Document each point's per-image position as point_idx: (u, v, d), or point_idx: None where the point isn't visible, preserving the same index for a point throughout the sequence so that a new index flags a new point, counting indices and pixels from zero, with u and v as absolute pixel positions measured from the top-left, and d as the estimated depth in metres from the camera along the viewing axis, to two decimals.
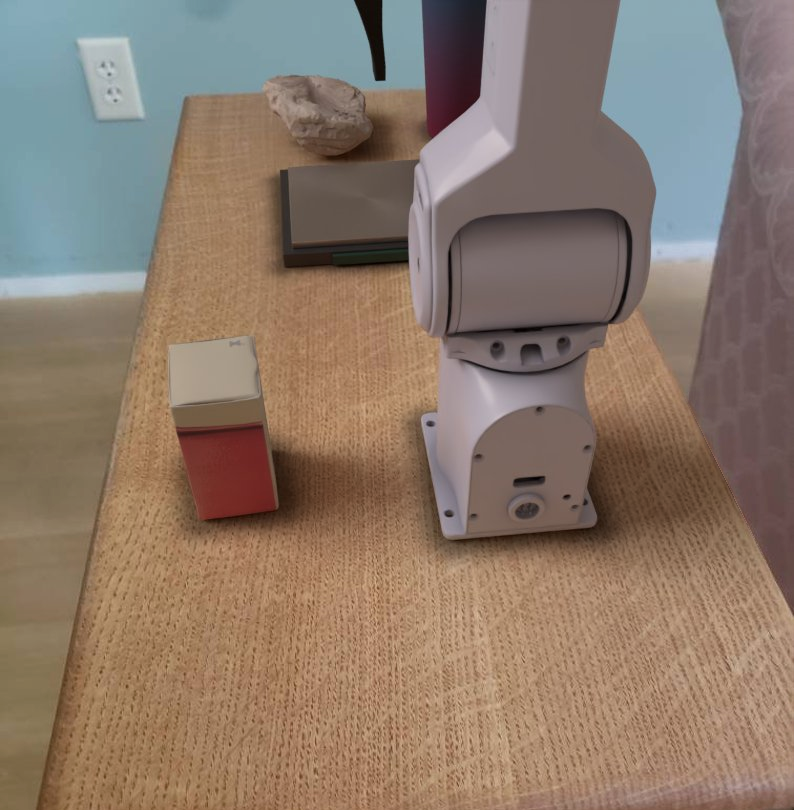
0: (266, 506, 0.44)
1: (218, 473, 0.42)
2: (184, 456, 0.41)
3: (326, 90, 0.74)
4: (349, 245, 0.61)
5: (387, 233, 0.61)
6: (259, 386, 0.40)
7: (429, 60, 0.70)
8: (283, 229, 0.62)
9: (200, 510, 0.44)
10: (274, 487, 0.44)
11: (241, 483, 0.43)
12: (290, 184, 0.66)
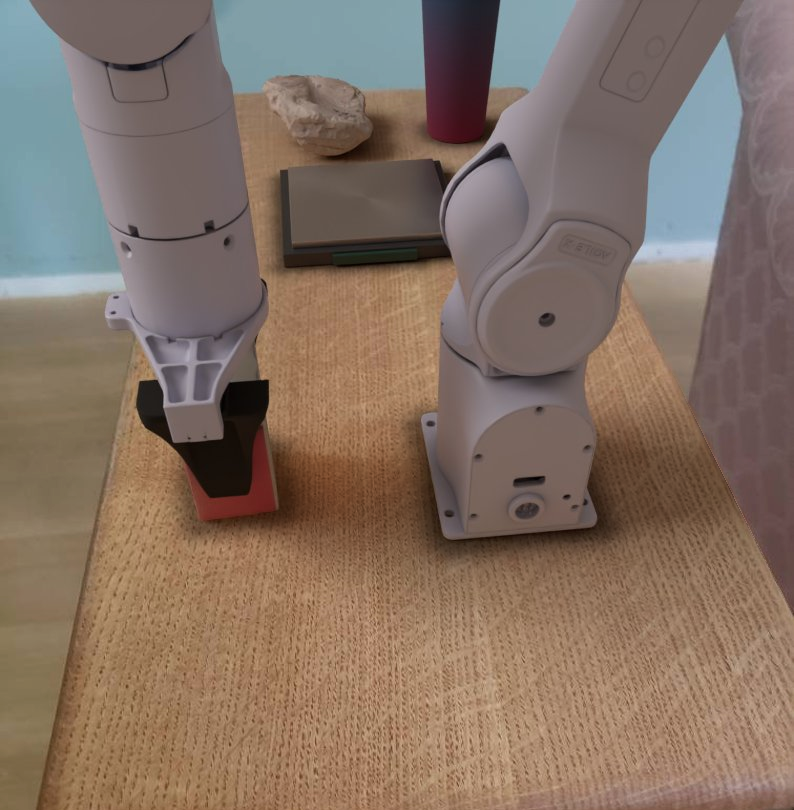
0: (266, 506, 0.44)
1: None
2: None
3: (326, 90, 0.74)
4: (349, 245, 0.61)
5: (387, 233, 0.61)
6: None
7: (429, 60, 0.70)
8: (283, 229, 0.62)
9: (200, 511, 0.44)
10: (274, 488, 0.44)
11: None
12: (290, 184, 0.66)
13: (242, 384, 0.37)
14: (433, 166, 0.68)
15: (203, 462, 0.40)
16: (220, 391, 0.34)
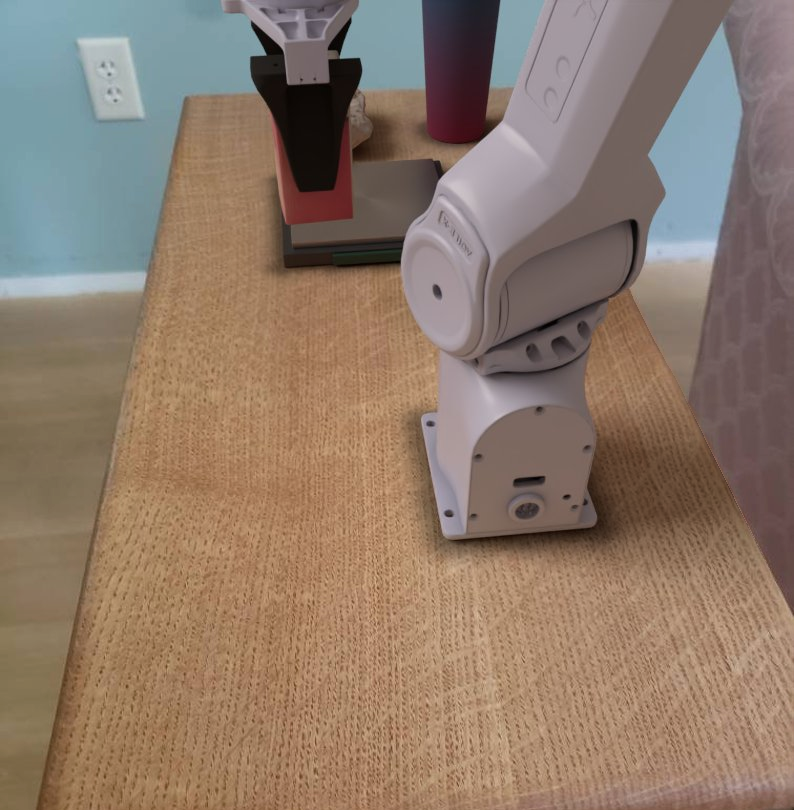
0: (344, 212, 0.51)
1: None
2: (279, 148, 0.47)
3: None
4: (349, 245, 0.61)
5: (387, 233, 0.61)
6: None
7: (429, 60, 0.70)
8: (283, 229, 0.62)
9: (287, 213, 0.50)
10: (352, 192, 0.50)
11: None
12: None
13: (338, 60, 0.44)
14: (433, 166, 0.68)
15: (298, 148, 0.47)
16: (328, 39, 0.40)
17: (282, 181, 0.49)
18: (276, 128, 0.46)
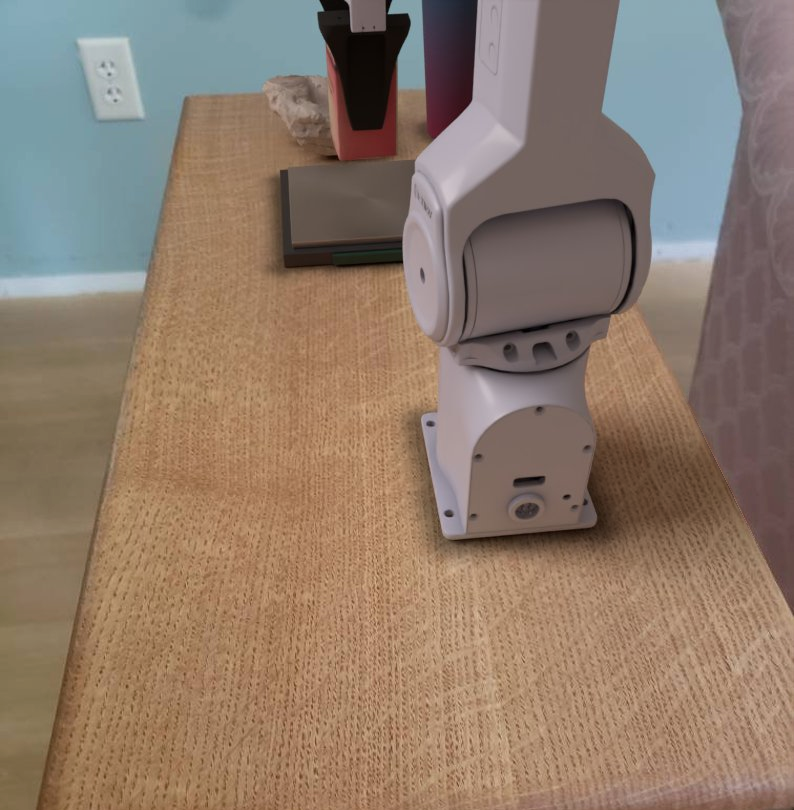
0: (389, 150, 0.59)
1: None
2: (337, 92, 0.56)
3: (326, 90, 0.74)
4: (349, 245, 0.61)
5: (387, 233, 0.61)
6: None
7: (429, 60, 0.70)
8: (283, 229, 0.62)
9: (341, 150, 0.59)
10: (397, 132, 0.59)
11: None
12: (290, 184, 0.66)
13: (390, 15, 0.52)
14: None
15: (354, 91, 0.55)
16: None
17: (338, 121, 0.57)
18: (335, 74, 0.55)
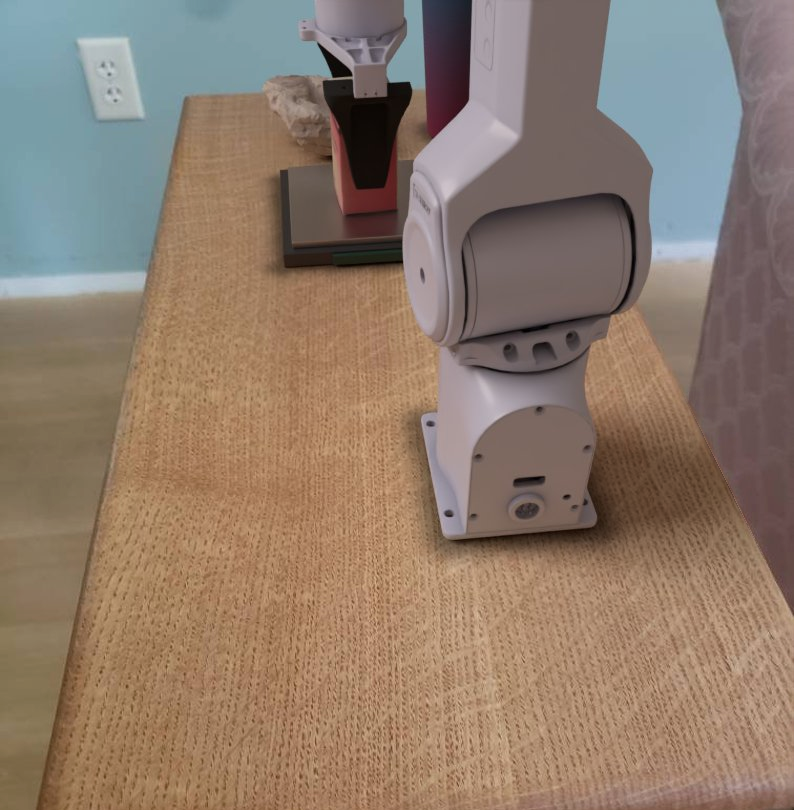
0: (390, 204, 0.62)
1: None
2: (340, 152, 0.59)
3: None
4: (349, 245, 0.61)
5: (387, 233, 0.61)
6: None
7: (429, 60, 0.70)
8: (283, 229, 0.62)
9: (344, 205, 0.62)
10: (397, 188, 0.62)
11: None
12: (290, 184, 0.66)
13: (392, 83, 0.55)
14: None
15: (357, 153, 0.57)
16: (386, 63, 0.52)
17: (341, 179, 0.60)
18: (339, 136, 0.58)
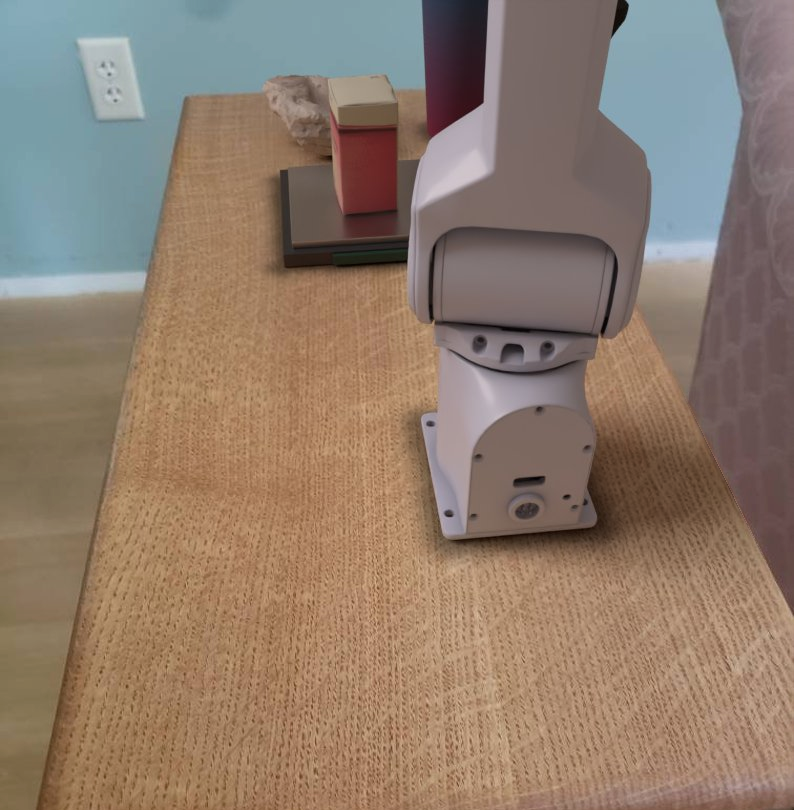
0: (390, 204, 0.62)
1: (361, 170, 0.60)
2: (340, 152, 0.59)
3: (326, 90, 0.74)
4: (349, 245, 0.61)
5: (387, 233, 0.61)
6: (396, 97, 0.58)
7: (429, 60, 0.70)
8: (283, 229, 0.62)
9: (344, 205, 0.62)
10: (397, 188, 0.62)
11: (375, 181, 0.61)
12: (290, 184, 0.66)
13: None
14: None
15: None
16: None
17: (341, 179, 0.60)
18: (339, 136, 0.58)
